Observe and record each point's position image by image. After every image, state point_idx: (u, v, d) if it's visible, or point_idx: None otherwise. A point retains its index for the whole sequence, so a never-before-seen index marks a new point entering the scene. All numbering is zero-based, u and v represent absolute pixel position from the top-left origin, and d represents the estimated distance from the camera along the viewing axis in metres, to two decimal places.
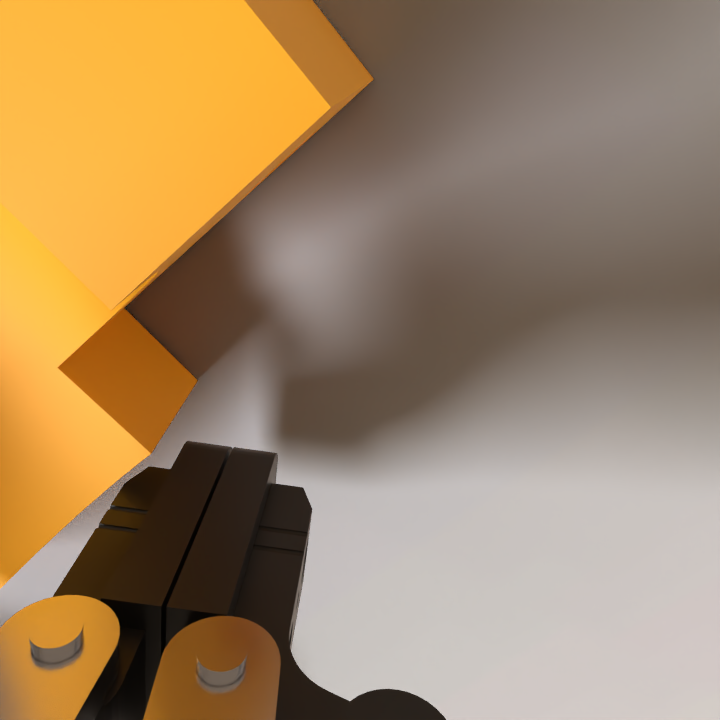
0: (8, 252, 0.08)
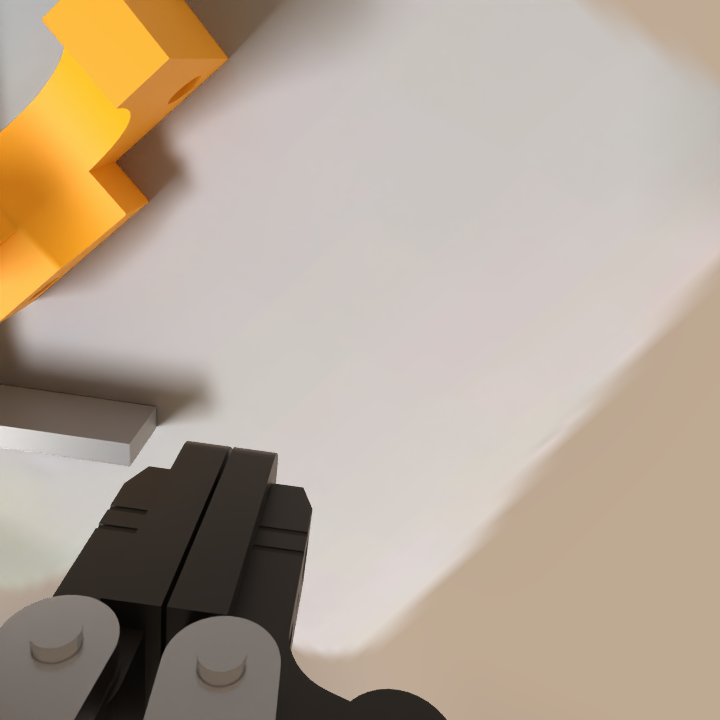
0: (73, 117, 0.21)
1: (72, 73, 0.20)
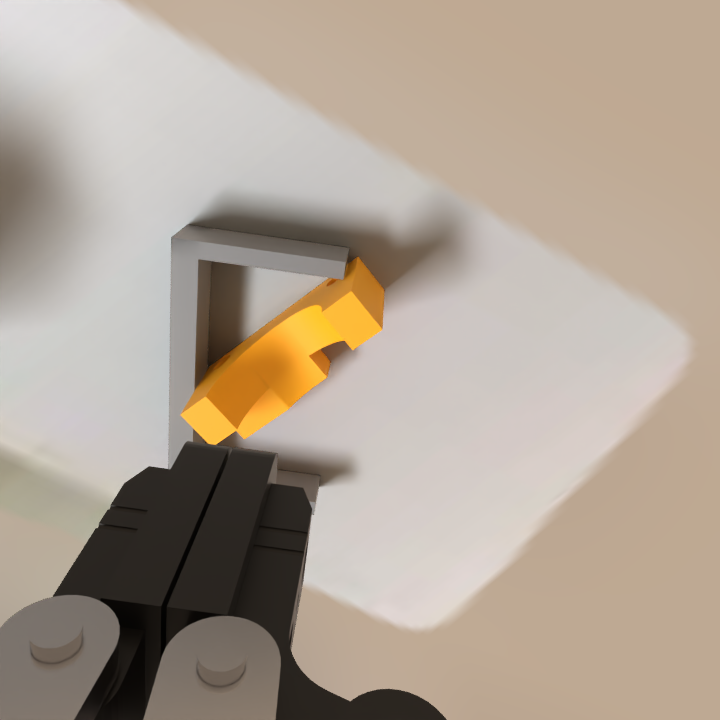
0: (305, 331, 0.39)
1: (312, 314, 0.38)
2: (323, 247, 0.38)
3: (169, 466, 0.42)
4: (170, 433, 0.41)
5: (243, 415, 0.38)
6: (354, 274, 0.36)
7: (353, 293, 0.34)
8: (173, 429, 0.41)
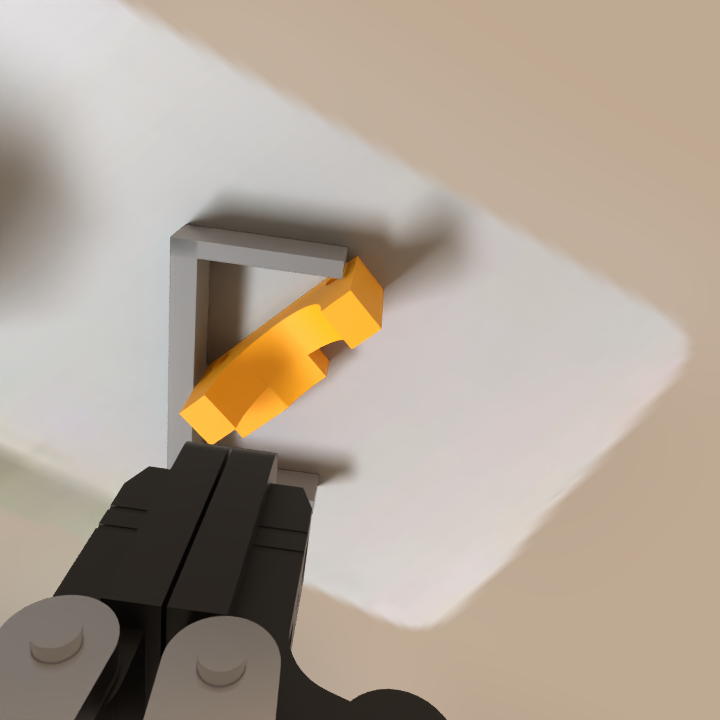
0: (304, 330, 0.39)
1: (311, 313, 0.38)
2: (322, 246, 0.38)
3: (168, 465, 0.42)
4: (169, 432, 0.41)
5: (242, 414, 0.38)
6: (353, 273, 0.36)
7: (353, 293, 0.34)
8: (172, 428, 0.41)
